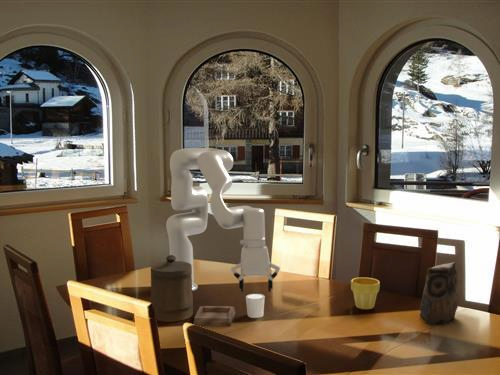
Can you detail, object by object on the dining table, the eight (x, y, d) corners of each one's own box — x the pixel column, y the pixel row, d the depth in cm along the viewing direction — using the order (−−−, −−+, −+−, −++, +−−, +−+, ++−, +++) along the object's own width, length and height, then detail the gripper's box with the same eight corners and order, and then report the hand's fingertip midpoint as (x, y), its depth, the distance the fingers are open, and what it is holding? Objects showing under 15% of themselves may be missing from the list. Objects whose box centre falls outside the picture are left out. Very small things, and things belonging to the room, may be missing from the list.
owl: (457, 316, 195) (459, 260, 193) (459, 329, 183) (461, 269, 181) (419, 313, 199) (421, 258, 197) (419, 325, 187) (420, 267, 185)
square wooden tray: (193, 325, 190) (193, 318, 190) (199, 312, 203) (199, 305, 203) (231, 325, 189) (230, 318, 189) (235, 312, 202) (235, 306, 202)
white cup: (263, 319, 195) (262, 299, 195) (244, 318, 197) (243, 298, 196) (266, 312, 202) (266, 293, 201) (248, 311, 204) (247, 292, 203)
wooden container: (199, 310, 206) (198, 252, 203) (181, 324, 192) (180, 261, 189) (163, 306, 210) (161, 249, 208) (143, 320, 197) (141, 259, 194)
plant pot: (382, 304, 209) (382, 278, 208) (376, 312, 200) (376, 286, 199) (354, 300, 214) (355, 275, 213) (347, 309, 204) (347, 283, 203)
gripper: (229, 245, 193) (230, 293, 195) (278, 245, 192) (280, 293, 194) (231, 241, 201) (233, 287, 203) (279, 240, 199) (280, 287, 201)
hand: (256, 290), depth 198 cm, fingers open, 9 cm apart
